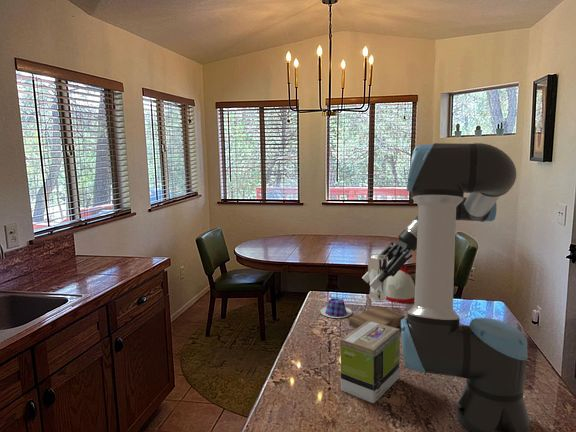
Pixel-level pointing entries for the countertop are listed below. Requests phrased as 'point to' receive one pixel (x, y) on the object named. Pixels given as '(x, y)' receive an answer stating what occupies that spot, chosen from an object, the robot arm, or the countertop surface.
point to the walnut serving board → (377, 317)
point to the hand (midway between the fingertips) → (368, 283)
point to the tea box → (370, 360)
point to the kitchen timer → (400, 287)
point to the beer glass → (374, 269)
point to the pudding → (336, 309)
